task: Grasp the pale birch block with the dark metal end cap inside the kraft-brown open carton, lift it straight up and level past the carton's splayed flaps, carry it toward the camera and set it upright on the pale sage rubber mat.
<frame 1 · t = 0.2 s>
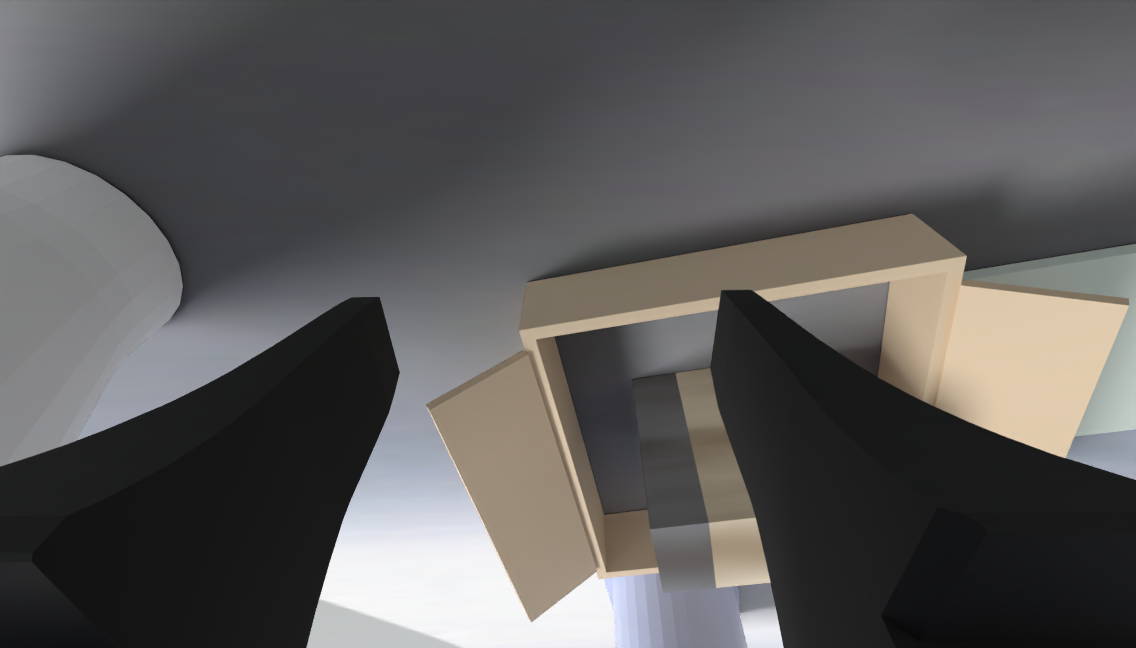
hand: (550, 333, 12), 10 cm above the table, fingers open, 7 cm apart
mat: (1096, 346, 24), on the table
carton: (722, 399, 26), on the table
vase: (84, 249, 22), on the table
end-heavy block: (722, 398, 26), resting in carton
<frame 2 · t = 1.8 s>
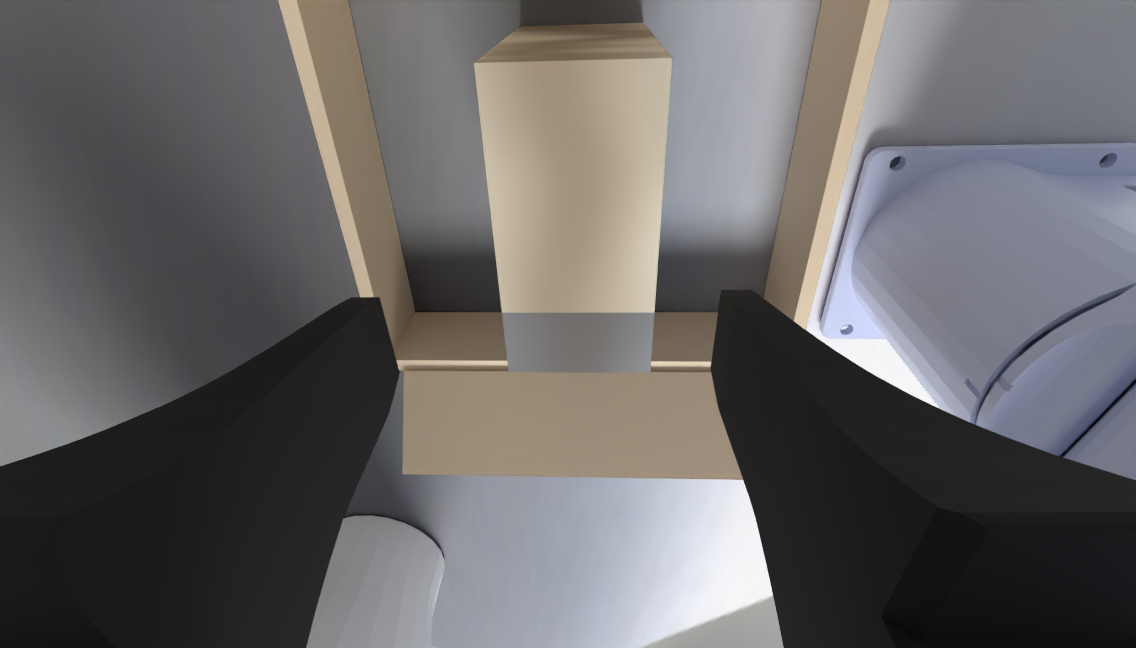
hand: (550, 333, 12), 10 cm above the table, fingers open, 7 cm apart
carton: (582, 149, 20), on the table
vase: (382, 551, 34), on the table
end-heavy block: (582, 149, 20), resting in carton
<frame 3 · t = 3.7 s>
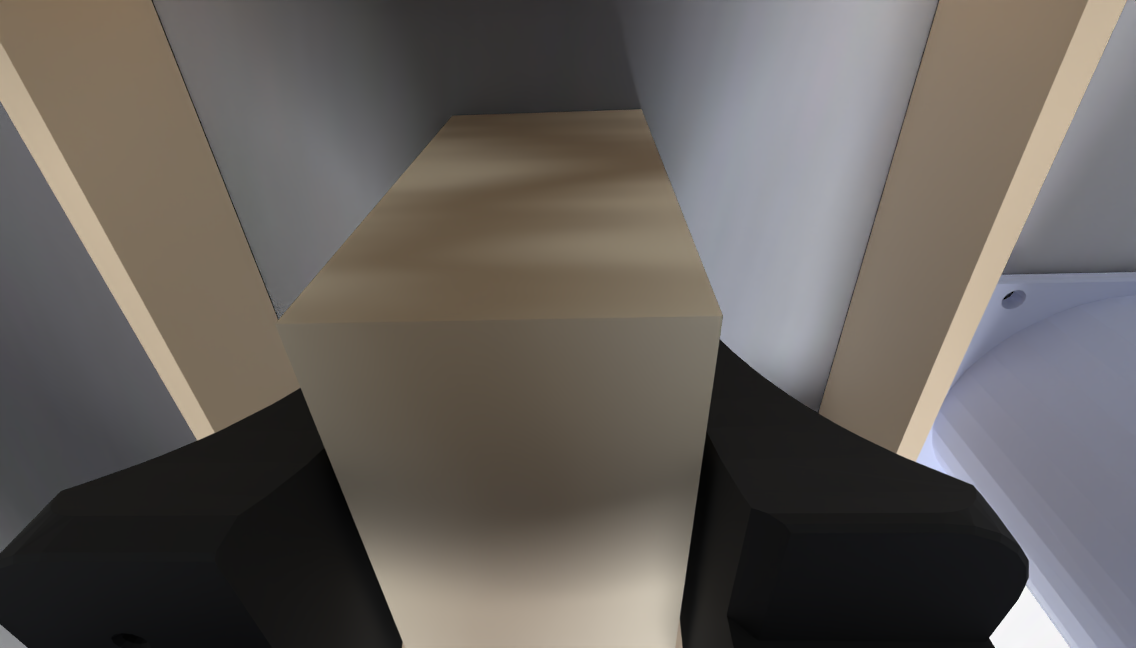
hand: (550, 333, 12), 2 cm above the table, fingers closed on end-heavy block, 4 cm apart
carton: (555, 279, 14), on the table
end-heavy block: (555, 278, 14), resting in carton, touching gripper
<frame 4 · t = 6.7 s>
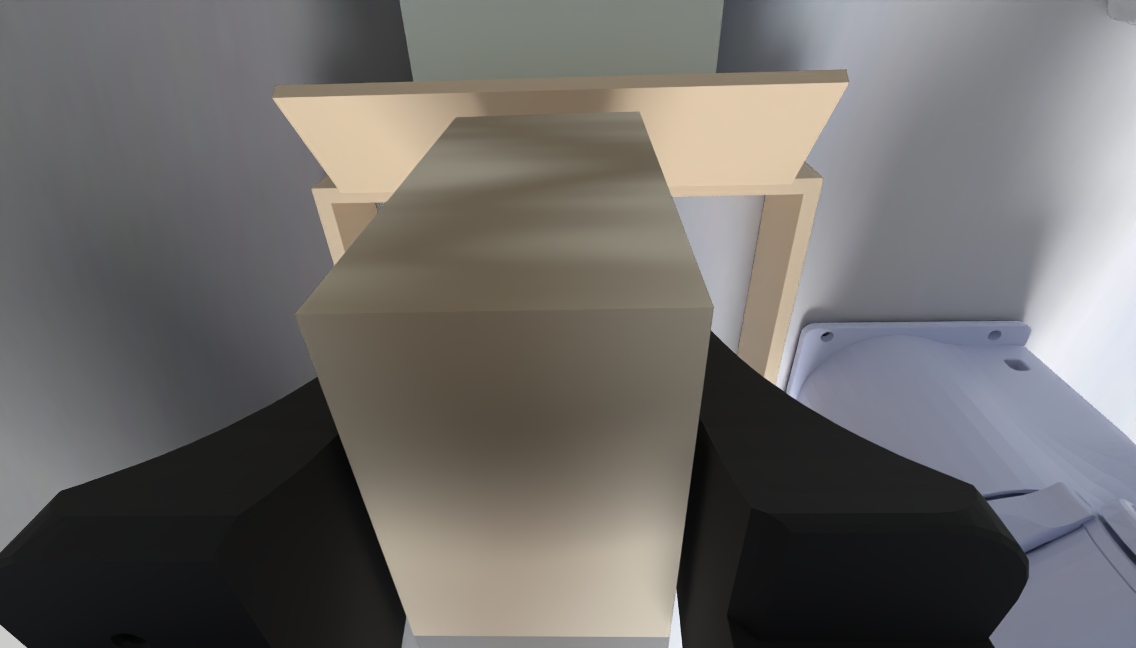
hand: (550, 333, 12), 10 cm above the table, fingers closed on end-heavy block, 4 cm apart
carton: (571, 322, 24), on the table
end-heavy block: (555, 276, 14), point 8 cm above the table, touching gripper
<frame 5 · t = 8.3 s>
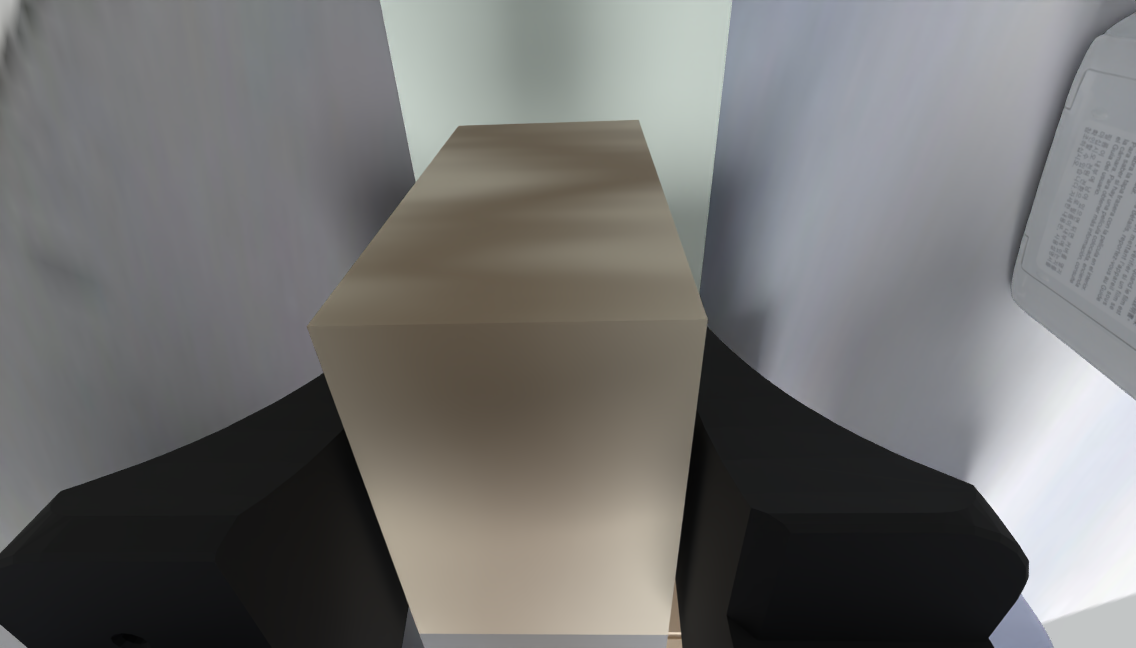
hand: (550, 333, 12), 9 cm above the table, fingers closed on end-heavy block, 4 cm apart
mat: (563, 189, 19), on the table
photo printer: (1089, 172, 19), on the table
carton: (576, 491, 28), on the table
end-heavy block: (556, 280, 14), point 6 cm above the table, touching gripper
when the fingers open (4 cm above the table, at t = 9.6 s): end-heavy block stays where it is, resting on mat.
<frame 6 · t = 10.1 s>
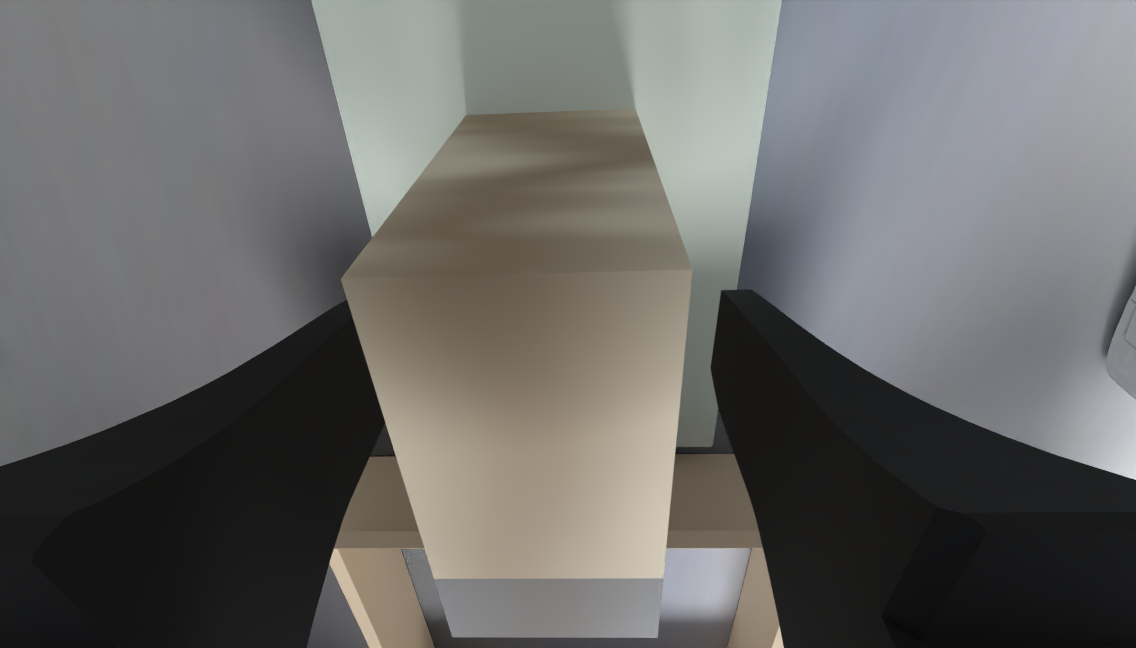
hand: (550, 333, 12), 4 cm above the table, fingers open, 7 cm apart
mat: (558, 244, 15), on the table
carton: (575, 572, 24), on the table
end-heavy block: (558, 263, 15), point 1 cm above the table, touching mat
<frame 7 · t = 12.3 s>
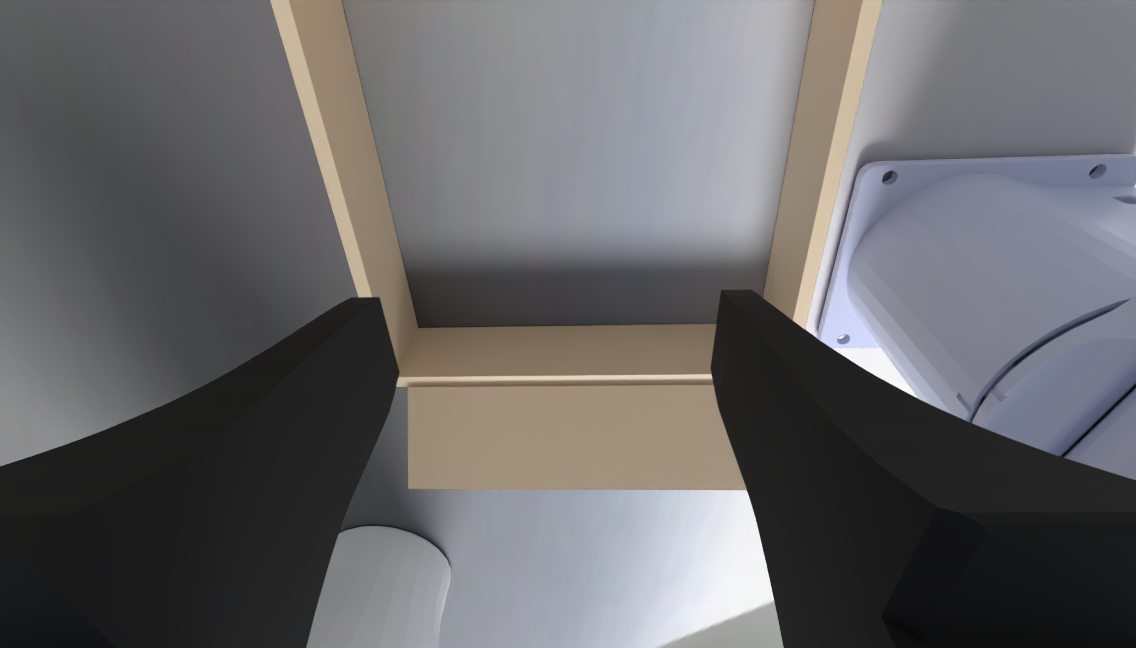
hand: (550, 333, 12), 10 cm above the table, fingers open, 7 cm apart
carton: (580, 168, 20), on the table
vase: (389, 560, 35), on the table
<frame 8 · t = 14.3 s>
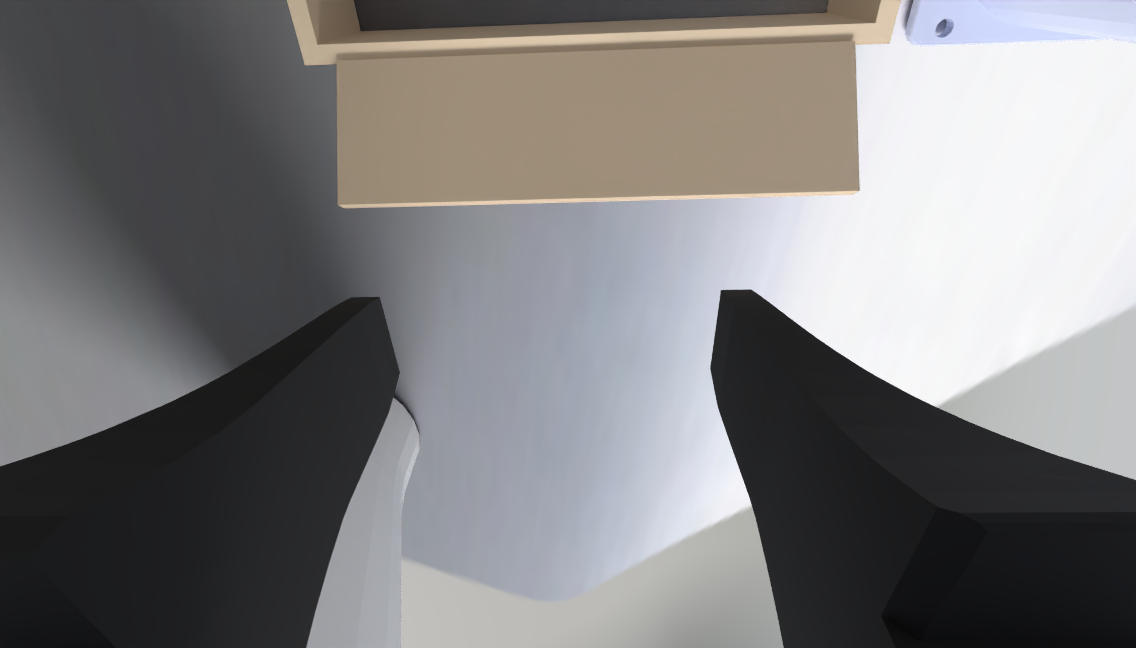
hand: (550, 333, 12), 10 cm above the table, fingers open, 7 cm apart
vase: (343, 427, 28), on the table
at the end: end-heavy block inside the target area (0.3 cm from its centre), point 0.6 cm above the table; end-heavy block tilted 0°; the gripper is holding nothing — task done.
